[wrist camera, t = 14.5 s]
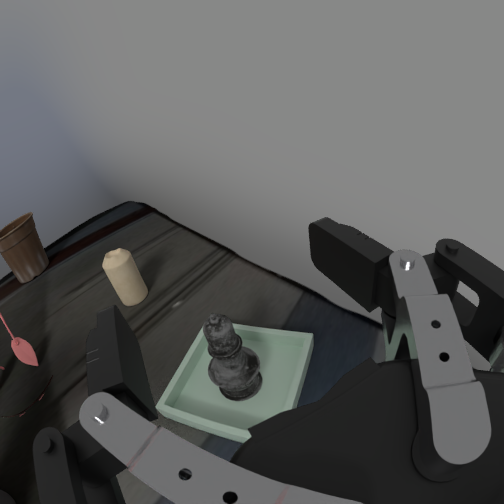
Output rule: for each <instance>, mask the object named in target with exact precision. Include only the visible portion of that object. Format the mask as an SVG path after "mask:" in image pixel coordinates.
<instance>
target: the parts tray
mask: <svg viewBox="0 0 504 504" xmlns="http://www.w3.org/2000/svg"><path fill="white" fill-rule="evenodd" d="M232 324H233V323H232ZM233 327H234V330H235V333H236V334H238V335H239V336H240V337H241V339H242V342H243V343H242V346H244V347H247V348H250V349H252V350H253V351H254V352H255V353H256V354H257V355H258V357H259V360H260V370H259V372H260V373H261V375H262V379H263V380H262V386H261V389H260V390H259V392H258V393H257V394H256V395H255V396H254V397H252V398H250V399H248V400H244V401H232V400H229V399H227V398H225V397H224V396H223V395H222V393H221V392H220V390H219V386H217V385H215V384H214V383H213V382H212V381H211V379H210V377H209V375H208V365H209V363H210V361H211V359H212V358H213V357H211V356H210V355H209V353H208V349H207V347H208V342H207V340H206V337H205V335H204V333H203V327H202V329H201V330H200V332H199V334H198V336H197V337H196V339H195V341H194V342H193V344H192V346H191V347H190V349H189V351H188V352H187V354H186V356H185V358H184V359H183V361H182V363H181V364H180V366H179V368H178V369H177V371H176V373H175V374H174V376H173V378H172V380H171V381H170V383H169V385H168V386H167V388H166V390H165V391H164V393H163V395H162V397H161V398H160V400H159V402H158V403H157V405H156V407H155V408H156V409H157V410H158V411H159V412H160V413H161V414H162V415H163V416H164V417H167V418H169V419H172V420H174V421H177V422H179V423H182V424H185V425H188V426H190V427H193V428H196V429H199V430H202V431H205V432H208V433H211V434H214V435H217V436H220V437H224V438H227V439H230V440H234V441H238V442H241V443H244V442H245V441H247V440H248V439H249V438H250V437H252V436H251V435H250V433H249V431H248V428H250V427H252V426H254V425H256V424H258V423H260V422H262V421H264V420H266V419H268V418H270V417H272V416H274V415H276V414H278V413H280V412H283V411H287V410H291V409H294V408H297V404H298V401H299V398H300V394H301V391H302V387H303V384H304V380H305V377H306V373H307V370H308V366H309V362H310V359H311V355H312V351H313V347H314V340H313V333H303V332H294V331H285V330H277V329H269V328H261V327H254V326H247V325H240V324H233Z"/></svg>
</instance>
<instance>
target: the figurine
mask: <svg viewBox="0 0 504 504" xmlns="http://www.w3.org/2000/svg"><path fill="white" fill-rule="evenodd" d="M0 317H1V319H2V321H3V322H4V324H5V326H6V328H7V329H8V331H9V333H10V335H11V336H12V338H13V340H12V345H11V346H12V349H13V351H14V353H15V355H16V356H17V358H18V359H19V360H21V361H22V362H24V363H26V364H29V365H33V366H38V362H37V358H36V355H35V352H34V350H33V348H32V347H31V345H30V344H29V343H28V342H27V341H25V340H23V339H21V338H19V337H17V338H14V336H13V335H12V333H11V331H10V330H9V328H8V326H7V324H6V323H5V321H4V319H3V317H2V315H1V313H0ZM0 369H2V370H4V367H2V366H0ZM52 377H53V375H52ZM52 377H51V379H52ZM51 379H50V381H51ZM50 381H49V383H50ZM49 383H48V385H49ZM48 385H47V386H48ZM47 386H46V388H47ZM46 388H45V389H46ZM44 391H45V390H44ZM44 391H43V392H44ZM43 392H42V394H43ZM42 394H41V395H42ZM41 395H40V396H41ZM40 396H39V397H40ZM42 396H43V395H42ZM38 399H39V398H38ZM38 399H37V400H38ZM40 399H41V398H40ZM40 399H39V400H40ZM37 400H36V401H37ZM36 401H35V402H36ZM35 402H34V403H35ZM34 403H33V404H34ZM33 404H32V405H33ZM32 405H31V406H32ZM31 406H30V407H31ZM28 408H29V407H28ZM28 408H27V409H28ZM27 409H26V410H27ZM26 410H24V411H26ZM24 411H23V412H24ZM21 413H22V412H21ZM19 414H20V413H19ZM23 414H24V413H23ZM17 415H18V414H17ZM14 416H16V415H14ZM20 416H21V415H20ZM2 417H3V416H2ZM9 417H13V416H9Z"/></svg>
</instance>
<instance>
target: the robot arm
mask: <svg viewBox="0 0 504 504" xmlns="http://www.w3.org/2000/svg"><path fill="white" fill-rule="evenodd" d="M309 239H310V251H311V259H312V261H313V263H314V265H315V267H316V268H317V269H318V270H319V271H321V272H322V273H323V274H324V275H325V276H327V277H328V278H329V279H330V280H331V281H333V282H334V283H335V284H336V285H337V286H339V287H340V288H341V289H342V290H343V291H345V292H346V293H347V294H348V295H349V296H351V297H352V298H353V299H354V300H355V301H356V302H358V303H359V304H360V305H361V306H362V307H364V308H365V309H366V310H367V311H368V312H371V311H373V310H374V309H376V308H377V307H380V308H382V313H381V317H382V324H383V331H384V339H385V347H386V360H385V362H381V363H378V364H377V363H375V362H374V361H373V360H372V359H371V358H368V359H367V360H365V361H364V362H363V363H361V364H360V365H358V366H357V367H355V368H354V369H352V370H351V371H349V372H348V373H346V374H345V375H343V377H342V378H341V379H340V380H339V381H338V382H337V383H336V384H335V385H334V386H333V387H332V388H331V389H330V390H329V391H328V392H327V393H326V394H325V395H324V396H323V397H322V398H321V399H320V400H319V401H317V402H314V403H311V404H307V405H304V406H301V407H297V408H294V409H291V410H287V411H283V412H280V413H278V414H276V415H274V416H272V417H270V418H268V419H266V420H264V421H262V422H260V423H258V424H256V425H254V426H252V427H250V428H248V431H249V433H250V435H251V436H252V437H250V438H249V439H248V440H247V441H245V442H244V443H243V444H242V445H241V446H240V447H239V449H238V450H237V451H236V453H235V454H234V455H233V457H232V459H231V460H230V462H228V461H226V460H224V459H221V458H219V457H217V456H215V455H213V454H211V453H209V452H207V451H205V450H203V449H201V448H199V447H197V446H195V445H193V444H192V443H190V442H188V441H186V440H184V439H182V438H181V437H179V436H177V435H175V434H174V433H172V432H170V431H168V430H167V429H165V428H163V427H161V426H156V425H154V424H152V423H151V422H150V421H153V420H156V419H158V415H157V412H156V408H155V405H154V401H153V398H152V394H151V390H150V387H149V383H148V379H147V375H146V371H145V367H144V363H143V358H142V354H141V350H140V346H139V343H138V341H137V338H136V336H135V335H134V333H133V331H132V330H131V328H130V327H129V325H128V323H127V322H126V320H125V319H124V317H123V315H122V314H121V312H120V311H119V309H118V307H117V306H116V305H113V306H111V307H108V308H106V309H104V310H101V311H99V312H97V328H94V329H92V330H90V333H89V335H88V338H87V340H86V353H87V355H86V362H87V382H88V396H89V397H88V398H87V399H86V400H85V401H84V403H83V404H82V406H81V409H80V413H79V419H80V420H78V421H77V422H76V423H75V424H73V425H72V426H70V427H69V428H68V429H66V430H65V431H63V432H62V433H61V432H60V431H58V430H57V429H56V428H53V427H47V428H44V429H42V430H41V431H40V432H39V433H38V434H37V435H36V437H35V439H34V442H33V458H34V467H35V474H36V481H37V487H38V493H39V498H40V503H41V504H126V503H125V500H124V498H123V495H122V492H121V489H120V486H119V483H118V480H117V477H116V475H117V474H118V473H120V472H121V471H123V470H124V469H126V468H127V469H128V470H129V471H130V472H131V473H132V474H133V475H135V476H136V477H137V478H139V479H140V480H141V481H143V482H144V483H145V484H147V485H148V486H150V487H151V488H153V489H154V490H155V491H157V492H158V493H160V494H161V495H163V496H164V497H166V498H167V499H169V500H171V501H172V502H174V503H175V504H504V271H503V270H501V269H500V268H498V267H497V266H496V265H494V264H493V263H491V262H490V261H488V260H487V259H485V258H484V257H482V256H481V255H479V254H478V253H476V252H475V251H473V250H472V249H470V248H468V247H466V246H465V245H464V244H462V243H460V242H458V241H456V240H453V239H442V240H439V241H438V242H437V244H436V248H435V253H432V254H429V255H425V256H421V255H420V254H419V253H416V252H414V251H411V250H398V251H396V252H394V251H392V250H390V249H389V248H387V247H385V246H384V245H382V244H380V243H379V242H377V241H375V240H374V239H372V238H369V236H367V235H365V234H364V233H363V234H362V233H361V232H360V231H359V230H357V229H355V228H353V227H351V226H347V225H343V224H338V223H337V222H335V221H333V220H331V219H330V218H328V217H325V218H322V219H320V220H317V221H315V222H313V223H311V224H310V225H309ZM459 281H462V282H463V283H464V284H466V285H467V286H468V287H469V288H471V289H472V290H473V291H475V292H476V293H477V294H478V296H479V305H478V308H477V307H476V306H475V305H474V304H472V303H471V302H470V301H469V300H467V299H466V298H465V297H464V296H462V295H461V294H460V293H458V292H457V288H458V284H459ZM464 339H465V340H466V341H467V342H468V343H469V344H470V345H472V347H474V348H475V349H476V350H477V351H478V352H479V353H480V354H481V355H482V356H483V357H484V358H485V359H486V360H487V361H489V362H490V364H491V369H490V371H483V370H474V369H472V366H471V362H470V359H469V355H468V352H467V349H466V345H465V342H464ZM0 504H16V503H15V501H14V499H13V498H12V497H11V496H10V495H9V494H8V493H6V492H4V491H2V490H0Z"/></svg>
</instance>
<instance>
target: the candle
mask: <svg viewBox="0 0 504 504" xmlns="http://www.w3.org/2000/svg"><path fill="white" fill-rule="evenodd" d="M103 268H104V270H105V272H106V274H107V276H108V278H109V280H110V281H111V283H112V285H113V287H114V289H115V290H116V292H117V294H118V296H119V297H120V299H121V301H122V302H123V304H124V305H126V306H133V305H136V304H139V303H140V302H142V301H143V300H144V299H145V298H146V296H147V294H148V290H147V287H146V285H145V283H144V281H143V279H142V277H141V275H140V273H139V271H138V269H137V267H136V264H135V262H134V260H133V258H132V256H131V254H130V252H129V251H127V250H124V249H121V248H118V249H117V250H114V251H110V252H109V253H106V254H105V258H104V261H103Z"/></svg>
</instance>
